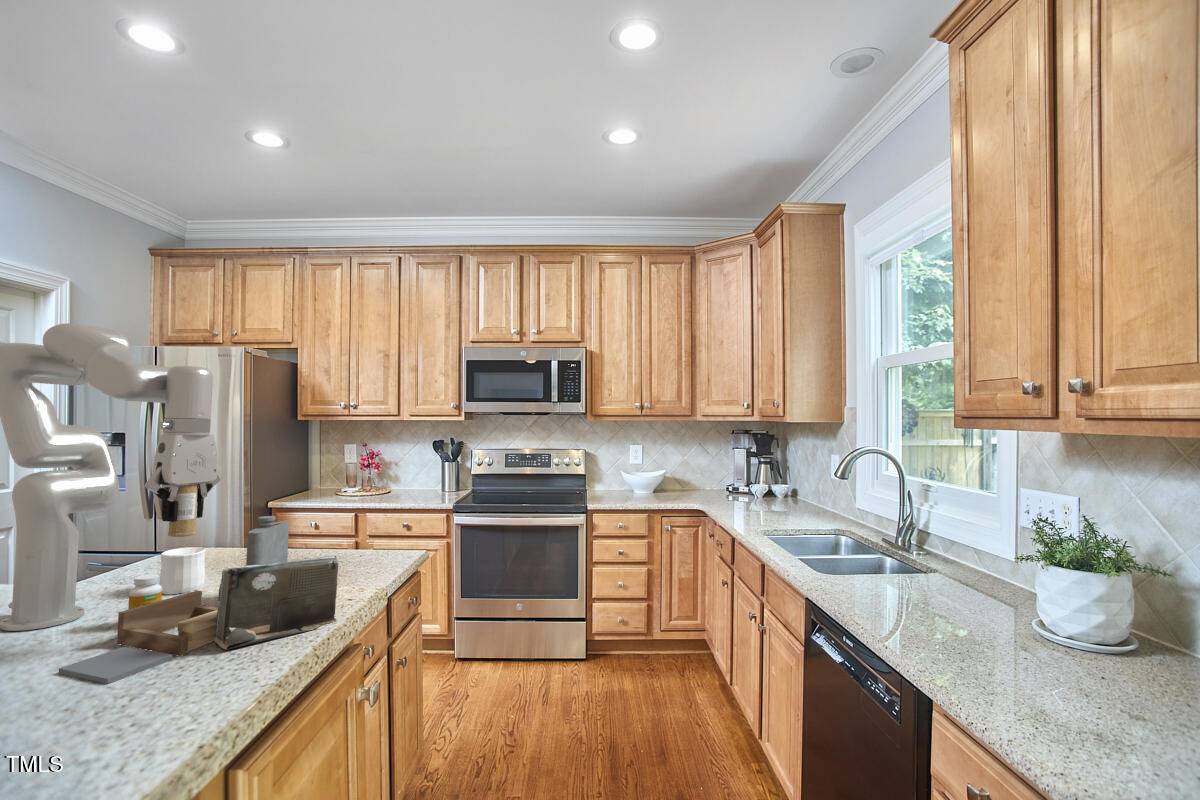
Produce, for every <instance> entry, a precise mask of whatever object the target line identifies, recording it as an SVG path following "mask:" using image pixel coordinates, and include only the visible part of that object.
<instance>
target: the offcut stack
mask: <svg viewBox="0 0 1200 800" xmlns="http://www.w3.org/2000/svg"><path fill="white" fill-rule="evenodd" d="M217 611H218V610H216V611H212V612H209V613H206V614H203V615H200V616H197V617H194V618H191V619H188V620H184V621H181V622H178V627H177V630H176V631H177V632H178V633H177V635H179V636H185V637H188V650H187V652H190V651H193V650H195V649H197V648H198V649H199V648H201V647H203V646H206V645H209V644H211V643H214V642H213V641H214V639H215V637H216V615H217ZM208 643H209V644H208ZM205 644H206V645H205ZM192 649H193V650H192ZM189 650H190V651H189Z"/></svg>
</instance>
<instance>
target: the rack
mask: <svg viewBox="0 0 1200 800" xmlns="http://www.w3.org/2000/svg"><path fill="white" fill-rule="evenodd" d="M202 595H203V591H202V590H197V591H194V592H190V593H185V594H178V595H175V596H172V597H169V598H165V599H162V600H161V601H158V602H154V603H150V604H147V605H143V606H139V607H136V608H132V609H129V610H128V609H126V610H121V611H118V617H117V632H116V633H117V634H116V645H117V644H121V645H120V646H123V645H126V646H127V647H128V646H131V647H132V648H133V647H135V648H137V649H139V648H141V649H143V650H144V649H147V650H148V651H149V650H152V651H154V652H155V651H156V652H159V653H160V652H161V653H164V654H170V655H172V656H176V655H178V657H183V656H185V655H188V651H187V650H188V637H185V636H179V635H178V634H174V633H167V631H170V629H171V630H173V628H174V629H176V628H175V627H177V628H178V622H181V621H184V620H188V619H191V618H194V617H197V616H200V615H203V614H206V613H209V612H212V611H216V610H218V607H215V606H208V605H202V600H203V597H202ZM182 655H183V656H182Z"/></svg>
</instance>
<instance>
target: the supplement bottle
mask: <svg viewBox="0 0 1200 800" xmlns="http://www.w3.org/2000/svg"><path fill="white" fill-rule="evenodd" d="M159 581H160V575H159V574H155V573H154V574H153V573H152V574H143V575H139V576H136V577H134V578H133V586H134V587H133V588H131V589H130V591H129V595H128V609H127V610H129V609H132V608H136V607H139V606H143V605H147V604H150V603H154V602H158V601H161V600H163V598H162V597H163V594H162V587H161V586H160V585H159V584H158V583H159Z"/></svg>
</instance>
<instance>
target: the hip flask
mask: <svg viewBox="0 0 1200 800" xmlns="http://www.w3.org/2000/svg"><path fill="white" fill-rule="evenodd" d="M257 521H258V522H259V523H258V527H256V528H254V529H251V530H249V531H248V532H247V536H246V537H247V541H246V562H245V563H246V564H245V566H250V565H266V564H273V563H282V562H288V558H289V557H288V554H289V552H288V550H289V531H290V530H289V529H290V524H289V523H290V522H289V521H276V516H275V515H264V516H258V517H257Z"/></svg>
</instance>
